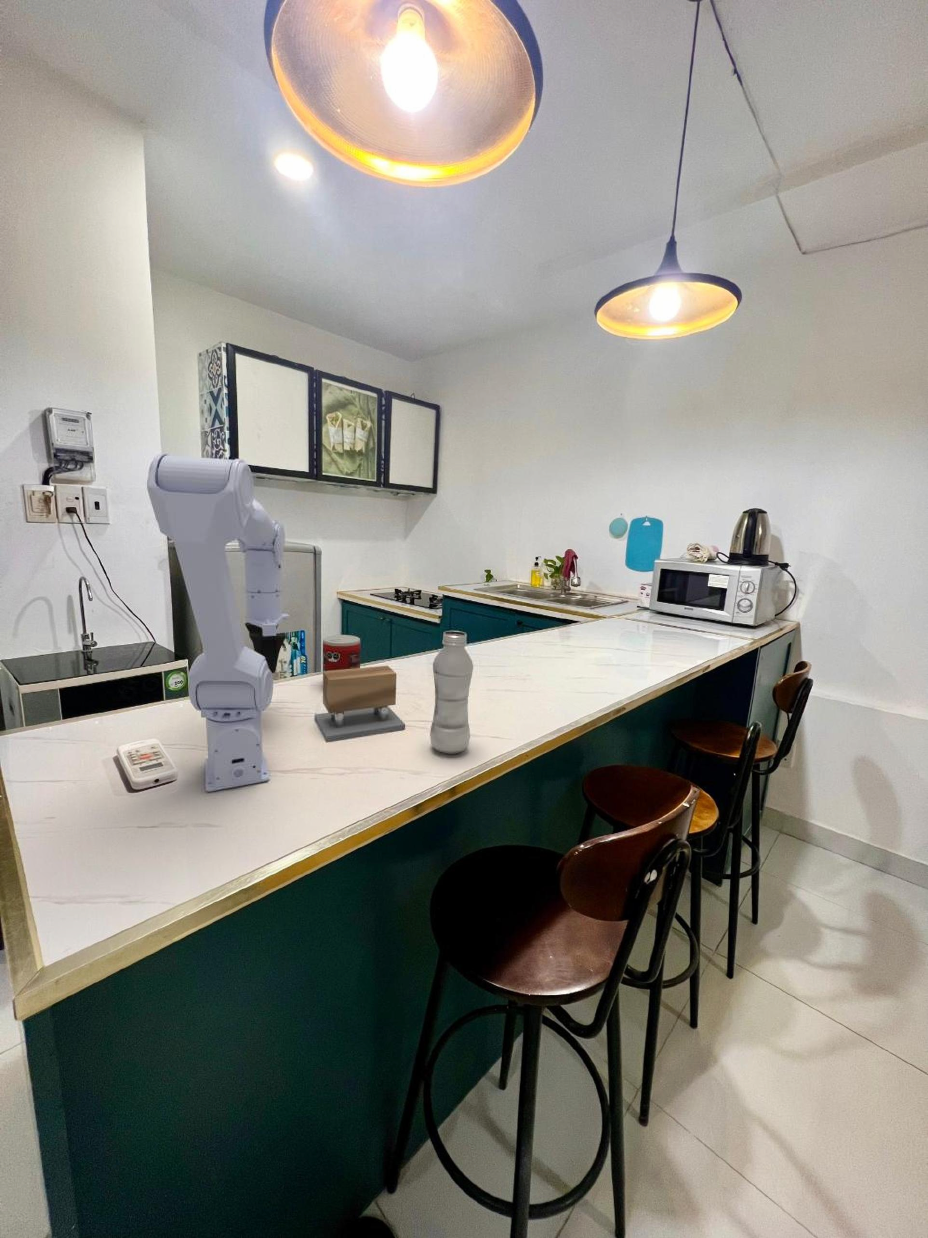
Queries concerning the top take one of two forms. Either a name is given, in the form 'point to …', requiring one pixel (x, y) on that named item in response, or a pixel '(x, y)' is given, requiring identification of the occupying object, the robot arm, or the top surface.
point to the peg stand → (358, 723)
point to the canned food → (341, 652)
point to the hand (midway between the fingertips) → (265, 666)
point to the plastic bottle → (451, 695)
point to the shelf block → (359, 688)
